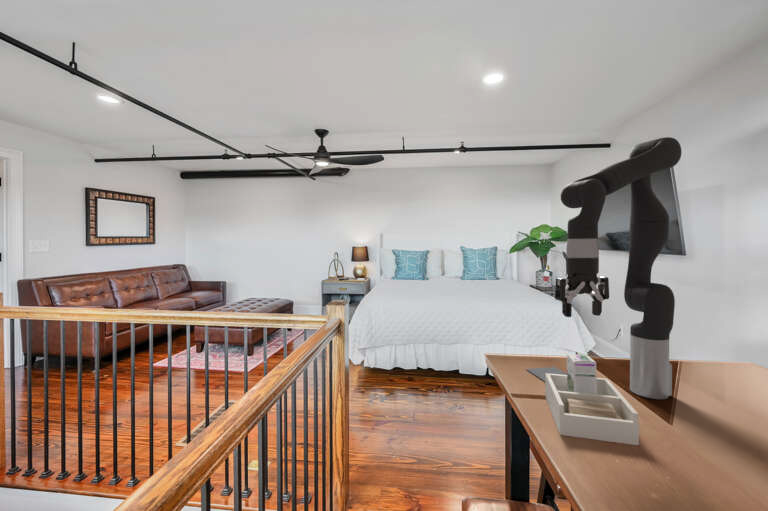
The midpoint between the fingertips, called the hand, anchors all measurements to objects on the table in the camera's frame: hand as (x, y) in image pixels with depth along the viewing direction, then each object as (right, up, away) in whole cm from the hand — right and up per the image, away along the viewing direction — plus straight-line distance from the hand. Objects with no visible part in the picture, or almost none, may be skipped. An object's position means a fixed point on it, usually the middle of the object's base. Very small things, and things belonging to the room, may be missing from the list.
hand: (581, 315), depth 91 cm
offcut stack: (-3, -26, -9) cm, 28 cm away
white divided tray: (-1, -26, -3) cm, 26 cm away
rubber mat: (+4, -25, +26) cm, 36 cm away
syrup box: (0, -26, +1) cm, 26 cm away
